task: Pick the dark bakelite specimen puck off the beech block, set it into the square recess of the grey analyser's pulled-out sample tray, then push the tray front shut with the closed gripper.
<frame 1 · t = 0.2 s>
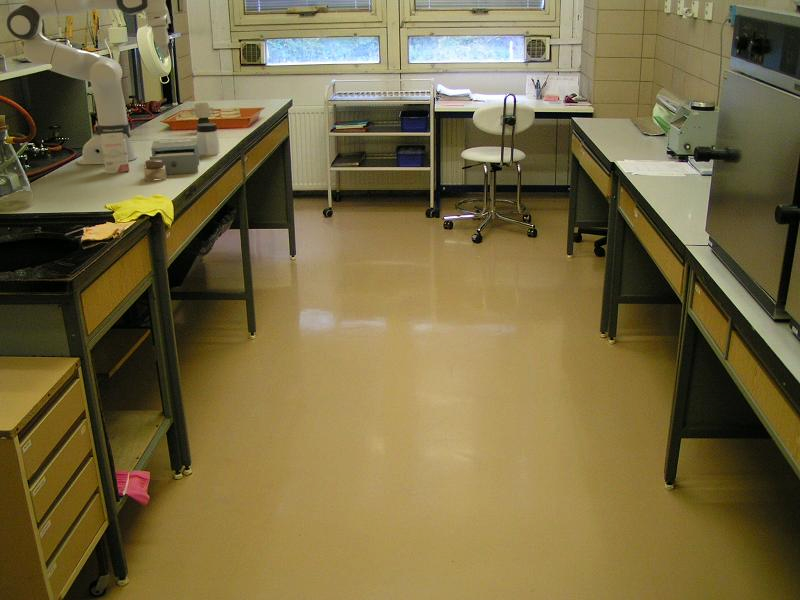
hand: (166, 57, 335), 39 cm above the table, tool pointing down, fingers open, 8 cm apart
block: (156, 178, 308), on the table
puck: (154, 167, 306), point 4 cm above the table, touching block
character mug: (204, 131, 406), on the table
ink cartridge box: (117, 172, 321), on the table
jar: (209, 154, 351), on the table
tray: (174, 160, 320), point 4 cm above the table, slide at 14.0 cm
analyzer: (177, 162, 336), on the table
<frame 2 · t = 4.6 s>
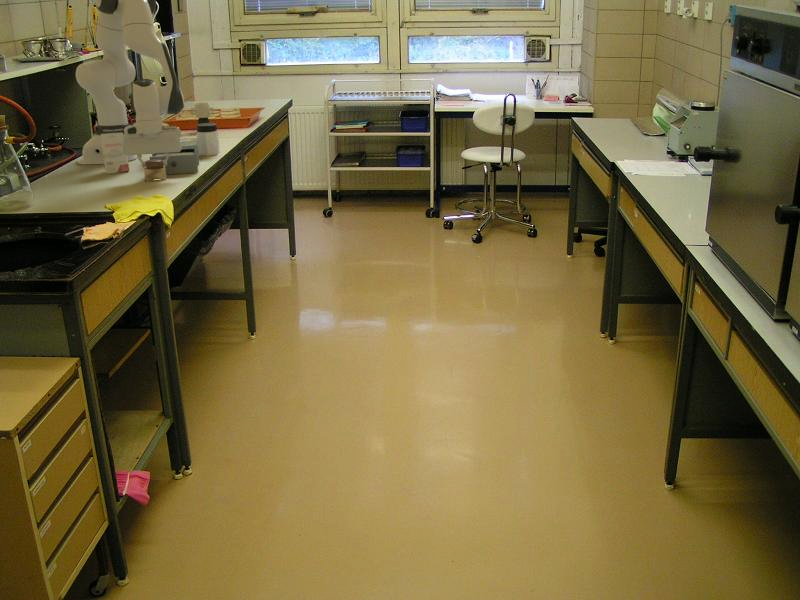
hand: (154, 166, 306), 5 cm above the table, tool pointing down, fingers closed on puck, 6 cm apart
puck: (154, 167, 306), point 4 cm above the table, touching block, gripper
everything else where it was.
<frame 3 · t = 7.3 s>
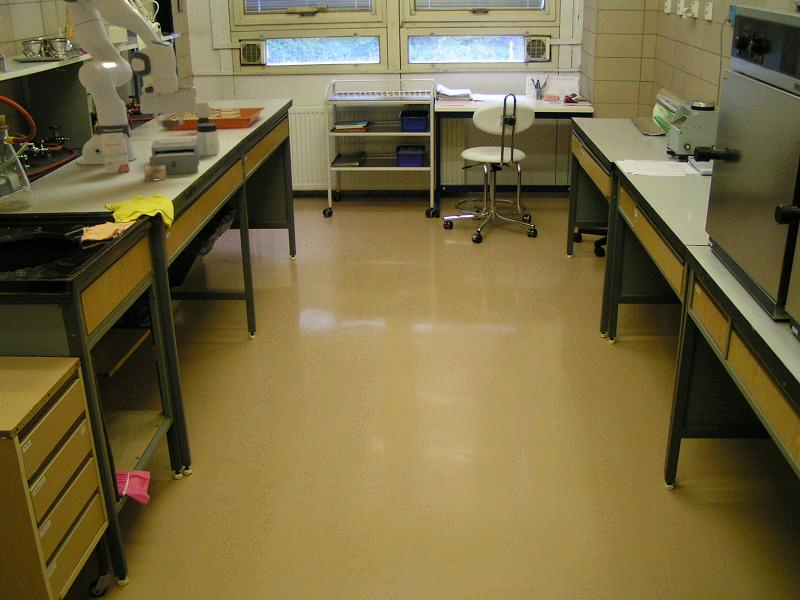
hand: (170, 125, 317), 17 cm above the table, tool pointing down, fingers closed on puck, 6 cm apart
puck: (171, 126, 317), point 16 cm above the table, touching gripper
everything else where it was.
when the fingers open (4 cm above the table, at t = 10.1 s): puck drops 1 cm, resting on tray.
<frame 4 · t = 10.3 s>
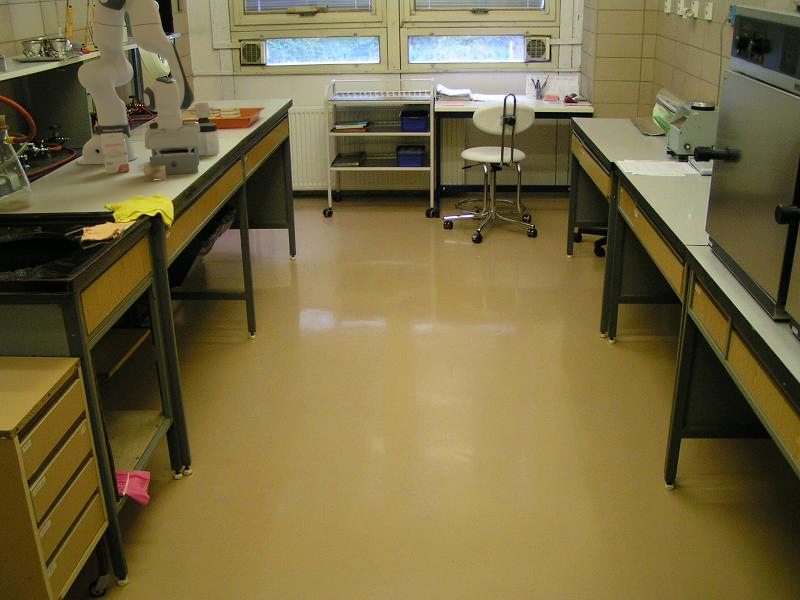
hand: (174, 159, 321), 4 cm above the table, tool pointing down, fingers open, 8 cm apart
puck: (175, 164, 322), point 2 cm above the table, touching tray
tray: (174, 160, 320), point 4 cm above the table, slide at 14.0 cm, touching puck
everything else where it was.
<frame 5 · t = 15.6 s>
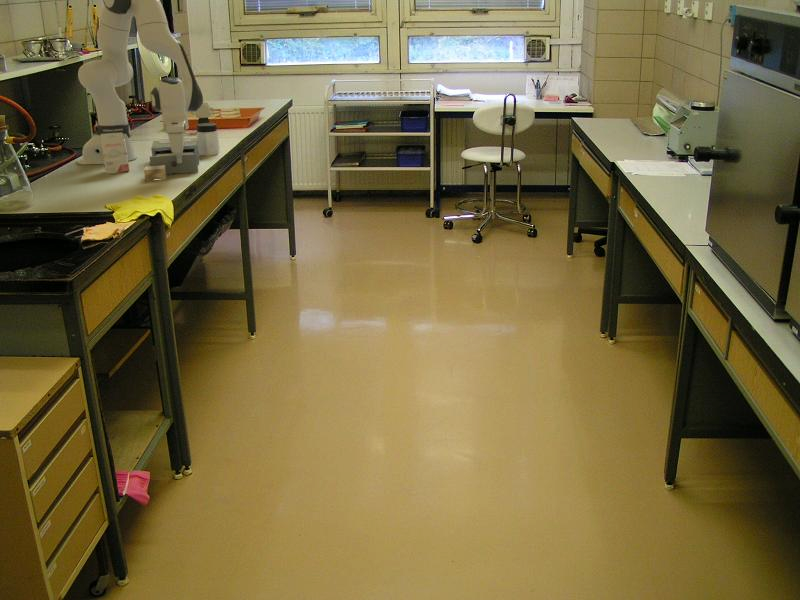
hand: (179, 162, 312), 4 cm above the table, tool pointing down, fingers closed
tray: (174, 160, 320), point 4 cm above the table, slide at 13.7 cm, touching gripper, puck
everything else where it was.
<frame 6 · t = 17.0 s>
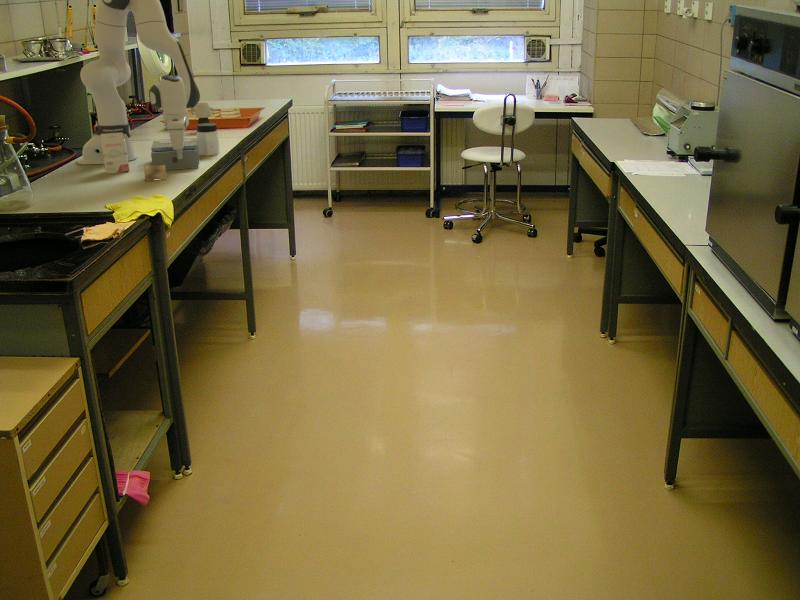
hand: (180, 158, 319), 4 cm above the table, tool pointing down, fingers closed
puck: (176, 160, 329), point 2 cm above the table, touching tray
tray: (175, 156, 327), point 4 cm above the table, slide at 5.6 cm, touching gripper, puck
everything else where it was.
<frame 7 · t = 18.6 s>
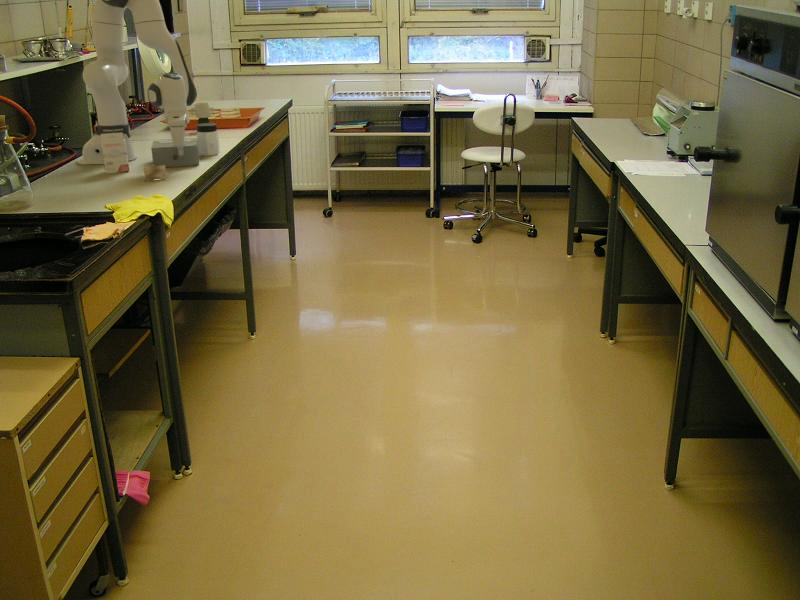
hand: (181, 155, 324), 5 cm above the table, tool pointing down, fingers closed
puck: (176, 157, 335), point 2 cm above the table, touching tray
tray: (175, 154, 333), point 4 cm above the table, slide at -0.1 cm, touching gripper, puck
everything else where it was.
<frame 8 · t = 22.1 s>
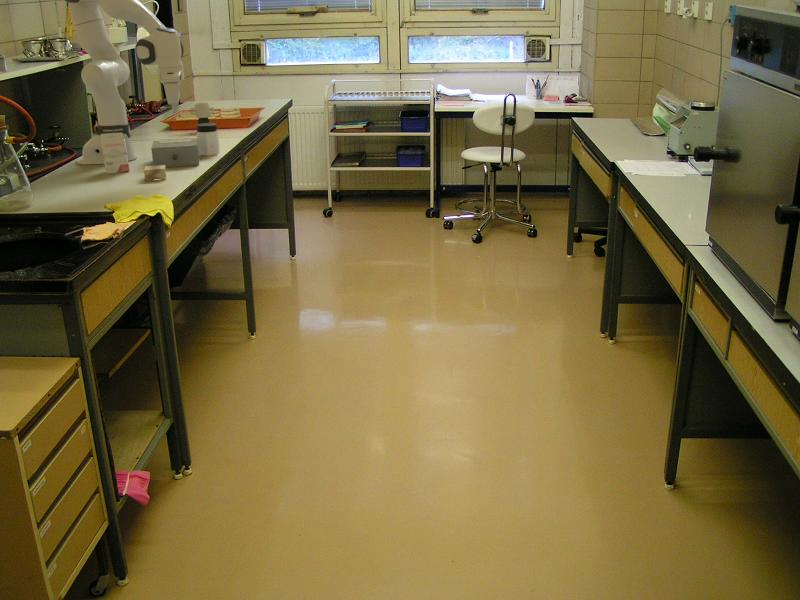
hand: (175, 114, 310), 21 cm above the table, tool pointing down, fingers closed
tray: (175, 154, 333), point 4 cm above the table, slide at 0.0 cm, touching puck
everything else where it was.
at the end: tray slide at 0.0 cm; puck inside the target area on the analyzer (0.2 cm from its centre), point 1.9 cm above the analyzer's base; puck tilted 0° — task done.
